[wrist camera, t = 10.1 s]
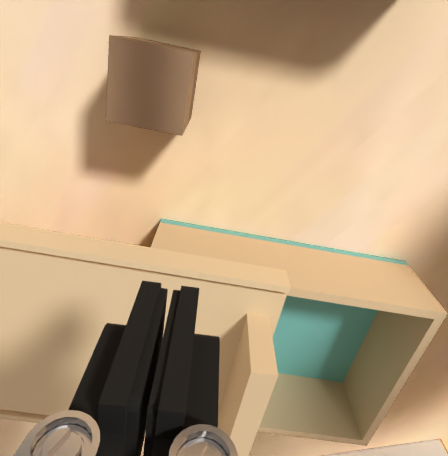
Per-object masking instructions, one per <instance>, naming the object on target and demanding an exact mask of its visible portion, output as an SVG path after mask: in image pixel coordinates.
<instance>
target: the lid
mask: <svg viewBox="0 0 448 456" xmlns="http://www.w3.org/2000/svg"><path fill="white" fill-rule="evenodd" d="M142 281H150V282H158V283H161V288H165V289H168V293H167V302H166V312H165V322H164V330H165V326H166V321H167V316H168V312H169V307H170V303H171V298H172V293H173V290H181V286H189V287H196V288H199V297H198V306H197V315H196V324H195V333H194V334H202V335H210V336H219V337H220V356H219V399H218V428H219V429H221V430H222V431H223V432H225V433H226V434H227V435H228V436H229V437H230V439H231V440H232V442H233V443H234V445H235V447H236V450H237V453H238V456H249V453H250V450H251V448H252V445H253V442H254V440H255V437H256V434H257V432H258V429H259V426H260V424H261V421H262V418H263V416H264V413H265V410H266V408H267V405H268V402H269V400H270V397H271V394H272V392H273V389H274V386H275V384H276V381H277V378H278V370H277V364H276V357H275V350H274V344H273V335H274V332H275V329H276V326H277V323H278V320H279V317H280V314H281V311H282V308H283V305H284V302H285V299H286V296H287V294H286V293H289V291H290V288H291V287H290V283H289V279H288V275H287V271H286V270H282V269H276V268H270V267H264V266H258V265H252V264H246V263H240V262H234V261H228V260H222V259H216V258H210V257H204V256H198V255H192V254H186V253H181V252H175V251H169V250H163V249H157V248H151V247H145V246H139V245H133V244H127V243H121V242H115V241H109V240H103V239H97V238H91V237H85V236H79V235H73V234H67V233H61V232H55V231H50V230H44V229H38V228H32V227H26V226H20V225H14V224H8V223H2V222H0V418H4V419H12V420H20V421H28V422H35V423H39V422H41V421H42V420H44V419H45V418H46V417H48V416H51V415H53V414H55V413H58V412H62V411H68V409H69V407H70V404H71V402H72V400H73V397H74V395H75V393H76V391H77V388H78V386H79V384H80V381H81V379H82V377H83V374H84V372H85V370H86V367H87V365H88V363H89V361H90V358H91V356H92V354H93V351H94V349H95V347H96V344H97V342H98V340H99V338H100V335H101V333H102V331H103V328H104V327H105V325H106V324H107V323H112V324H121V325H126V324H127V321H128V319H129V316H130V313H131V310H132V308H133V305H134V302H135V299H136V296H137V294H138V291H139V288H140V285H141V283H142ZM163 335H164V331H163Z"/></svg>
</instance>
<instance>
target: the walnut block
mask: <svg viewBox="0 0 448 456" xmlns="http://www.w3.org/2000/svg"><path fill="white" fill-rule="evenodd" d="M200 53H201V51H198V50H193V49H189V48H184V47H179V46H174V45H170V44H165V43H160V42H156V41H151V40H146V39H141V38H137V37H126V36H112V35H109V56H108V81H107V107H106V121H109V122H114V123H119V124H125V125H130V126H135V127H140V128H145V129H150V130H156V131H161V132H166V133H171V134H176V135H183V133H184V131H185V129H186V127H187V125H188V123H189V121H190V119H191V115H192V108H193V101H194V94H195V87H196V80H197V73H198V66H199V60H200Z"/></svg>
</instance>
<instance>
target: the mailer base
mask: <svg viewBox="0 0 448 456" xmlns="http://www.w3.org/2000/svg"><path fill="white" fill-rule="evenodd" d="M151 248H157V249H163V250H169V251H175V252H181V253H186V254H192V255H198V256H204V257H210V258H216V259H222V260H228V261H234V262H240V263H246V264H252V265H258V266H264V267H270V268H276V269H282V270H286V271H287V275H288V279H289V283H290V287H291V288H290V291H289V293H286V294H287V296H286V299H285V302H284V305H283V308H282V311H281V314H280V317H279V320H278V323H277V326H276V329H275V332H274V335H273V344H274V350H275V357H276V364H277V370H278V378H277V381H276V384H275V386H274V389H273V392H272V394H271V397H270V400H269V402H268V405H267V408H266V410H265V413H264V416H263V418H262V421H261V424H260V426H259V429H258V432H265V433H273V434H281V435H288V436H296V437H304V438H311V439H319V440H327V441H334V442H342V443H349V444H357V445H365V446H367V444H368V443H369V441H370V439H371V438H372V436H373V435H374V433H375V431H376V430H377V428H378V426H379V425H380V423H381V422H382V420H383V418H384V417H385V415H386V413H387V412H388V410H389V409H390V407H391V405H392V404H393V402H394V400H395V399H396V397H397V396H398V394H399V392H400V391H401V389H402V387H403V386H404V384H405V383H406V381H407V379H408V378H409V376H410V374H411V373H412V371H413V369H414V368H415V366H416V365H417V363H418V361H419V360H420V358H421V356H422V355H423V353H424V352H425V350H426V348H427V347H428V345H429V343H430V342H431V340H432V339H433V337H434V335H435V334H436V332H437V330H438V329H439V327H440V326H441V324H442V322H443V321H444V319H445V317H446V316H447V314H448V313H447V312H446V311H445V309H444V308H443V307H442V306H441V304H440V303H439V302H438V301H437V300H436V298H435V297H434V296H433V295H432V293H431V292H430V291H429V290H428V288H427V287H426V286H425V285H424V284H423V282H422V281H421V280H420V279H419V277H418V276H417V275H416V274H415V273H414V271H413V270H412V269H411V268H410V266H409V265H408V264H407V263H406V261H401V260H395V259H389V258H384V257H378V256H372V255H366V254H361V253H355V252H349V251H344V250H338V249H332V248H326V247H321V246H315V245H309V244H303V243H298V242H292V241H286V240H280V239H275V238H269V237H263V236H258V235H252V234H246V233H240V232H235V231H229V230H223V229H217V228H212V227H206V226H200V225H195V224H189V223H183V222H177V221H172V220H166V219H161V221H160V224H159V226H158V229H157V232H156V234H155V237H154V239H153V242H152V245H151Z"/></svg>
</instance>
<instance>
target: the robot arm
mask: <svg viewBox="0 0 448 456" xmlns="http://www.w3.org/2000/svg"><path fill="white" fill-rule="evenodd" d="M167 293H168V289H165V288H161V283H158V282H150V281H142V283H141V285H140V288H139V291H138V294H137V296H136V299H135V302H134V305H133V308H132V310H131V313H130V316H129V319H128V321H127V324H126V325H121V324H112V323H107V324H106V325H105V327H104V328H103V331H102V333H101V335H100V338H99V340H98V342H97V344H96V347H95V349H94V351H93V354H92V356H91V358H90V361H89V363H88V365H87V367H86V370H85V372H84V374H83V377H82V379H81V381H80V384H79V386H78V388H77V391H76V393H75V395H74V397H73V400H72V402H71V404H70V407H69V409H68V411H62V412H58V413H55V414H53V415H51V416H48V417H46V418H45V419H44V420H42V421H41V422H39V423H38V424H37V425H36V426H35V427H34V428H33V429H32V430H31V432H30V433H29V434H28V435H27V437H26V438H25V440H24V441H23V443H22V444H21V446H20V447H19V448H18V450H17V451H16V453H15V454H14V456H140V455H141V451H142V446H143V441H144V436H145V443H144V455H143V456H238V453H237V450H236V447H235V445H234V443H233V442H232V440H231V439H230V437H229V436H228V435H227V434H226V433H225V432H223V431H222V430H221V429H219V428H218V399H219V356H220V337H219V336H210V335H202V334H194V333H195V324H196V315H197V306H198V297H199V288H196V287H189V286H181V290H173V293H172V298H171V303H170V307H169V312H168V316H167V321H166V326H165V330H164V322H165V312H166V302H167ZM163 331H164V335H163Z"/></svg>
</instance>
